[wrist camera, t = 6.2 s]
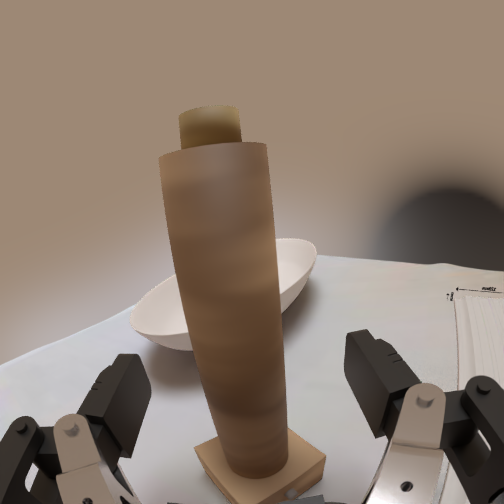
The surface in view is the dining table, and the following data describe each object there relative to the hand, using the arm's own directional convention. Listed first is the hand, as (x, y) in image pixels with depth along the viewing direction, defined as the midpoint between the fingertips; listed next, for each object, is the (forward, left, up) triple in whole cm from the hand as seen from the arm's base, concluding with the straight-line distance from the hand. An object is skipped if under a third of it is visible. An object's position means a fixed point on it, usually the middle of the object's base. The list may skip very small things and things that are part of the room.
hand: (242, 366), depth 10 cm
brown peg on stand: (0, 0, -10) cm, 10 cm away
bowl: (-12, -19, -10) cm, 24 cm away
